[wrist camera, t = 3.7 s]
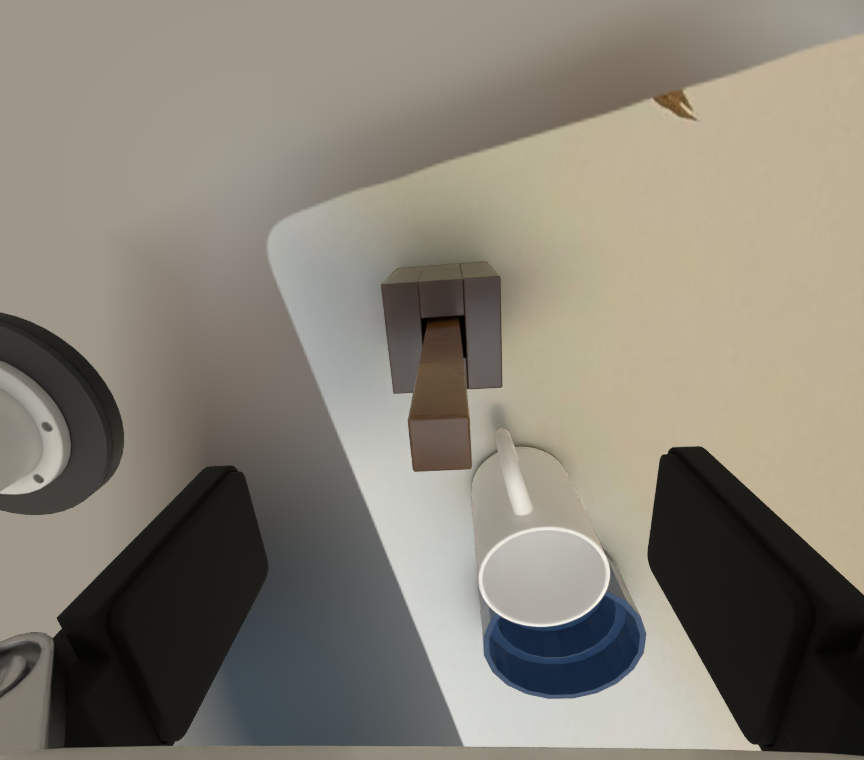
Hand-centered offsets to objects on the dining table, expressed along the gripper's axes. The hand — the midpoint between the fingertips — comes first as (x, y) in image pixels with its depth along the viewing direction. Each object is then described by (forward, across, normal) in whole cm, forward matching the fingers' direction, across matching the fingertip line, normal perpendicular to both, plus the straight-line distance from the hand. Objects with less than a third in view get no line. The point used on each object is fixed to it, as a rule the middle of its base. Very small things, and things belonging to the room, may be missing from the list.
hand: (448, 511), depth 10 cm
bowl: (+23, -8, +27) cm, 36 cm away
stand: (+23, 0, 0) cm, 23 cm away
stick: (+23, 0, 0) cm, 23 cm away
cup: (+23, -4, +14) cm, 27 cm away
